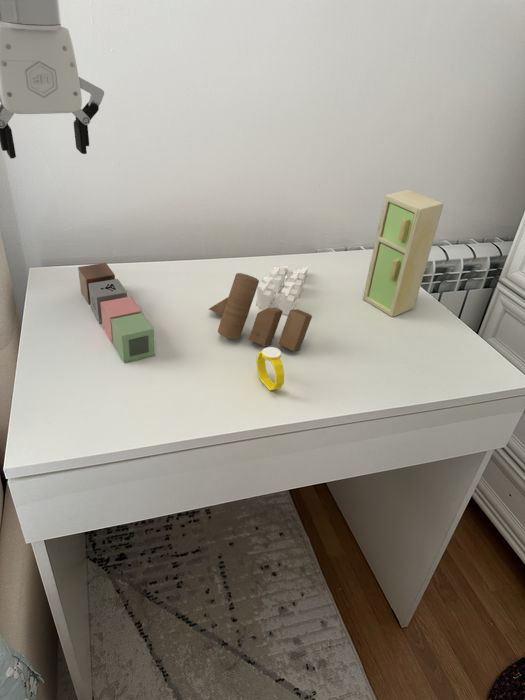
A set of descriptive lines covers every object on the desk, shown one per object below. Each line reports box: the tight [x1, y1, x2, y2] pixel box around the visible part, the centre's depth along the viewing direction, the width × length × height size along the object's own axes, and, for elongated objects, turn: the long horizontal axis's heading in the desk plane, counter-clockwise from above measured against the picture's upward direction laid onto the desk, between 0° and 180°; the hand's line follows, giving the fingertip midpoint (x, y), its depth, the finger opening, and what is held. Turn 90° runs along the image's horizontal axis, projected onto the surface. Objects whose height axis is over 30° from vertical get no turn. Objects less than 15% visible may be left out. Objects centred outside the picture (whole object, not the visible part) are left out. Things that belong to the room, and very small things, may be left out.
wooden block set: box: [208, 272, 313, 352], centre depth 88 cm, size 18×9×10 cm, turn 59°
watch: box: [256, 346, 285, 392], centre depth 78 cm, size 6×3×6 cm, turn 28°
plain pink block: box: [100, 296, 142, 345], centre depth 86 cm, size 5×5×5 cm
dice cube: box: [88, 278, 128, 324], centre depth 91 cm, size 5×5×5 cm
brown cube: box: [77, 262, 116, 306], centre depth 95 cm, size 5×5×5 cm
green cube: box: [111, 312, 156, 364], centre depth 83 cm, size 5×5×5 cm
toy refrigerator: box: [362, 189, 444, 317], centre depth 97 cm, size 8×7×21 cm
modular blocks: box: [255, 265, 309, 316], centre depth 104 cm, size 20×7×4 cm, turn 165°
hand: (47, 153), depth 76 cm, fingers open, 9 cm apart
